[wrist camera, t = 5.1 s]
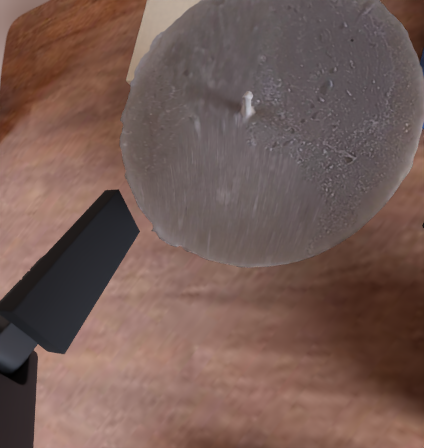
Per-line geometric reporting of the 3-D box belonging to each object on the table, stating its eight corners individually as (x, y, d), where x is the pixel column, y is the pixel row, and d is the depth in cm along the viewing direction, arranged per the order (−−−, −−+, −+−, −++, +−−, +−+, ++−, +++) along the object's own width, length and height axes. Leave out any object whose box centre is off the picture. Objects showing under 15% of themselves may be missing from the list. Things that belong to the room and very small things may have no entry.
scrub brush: (233, -24, 24) (224, -72, 20) (198, 110, 24) (182, 85, 20) (181, -21, 25) (163, -65, 22) (148, 104, 25) (125, 80, 22)
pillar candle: (361, 168, 19) (571, -58, 5) (297, 278, 20) (321, 359, 6) (249, 122, 22) (179, -105, 8) (196, 220, 23) (42, 175, 8)
